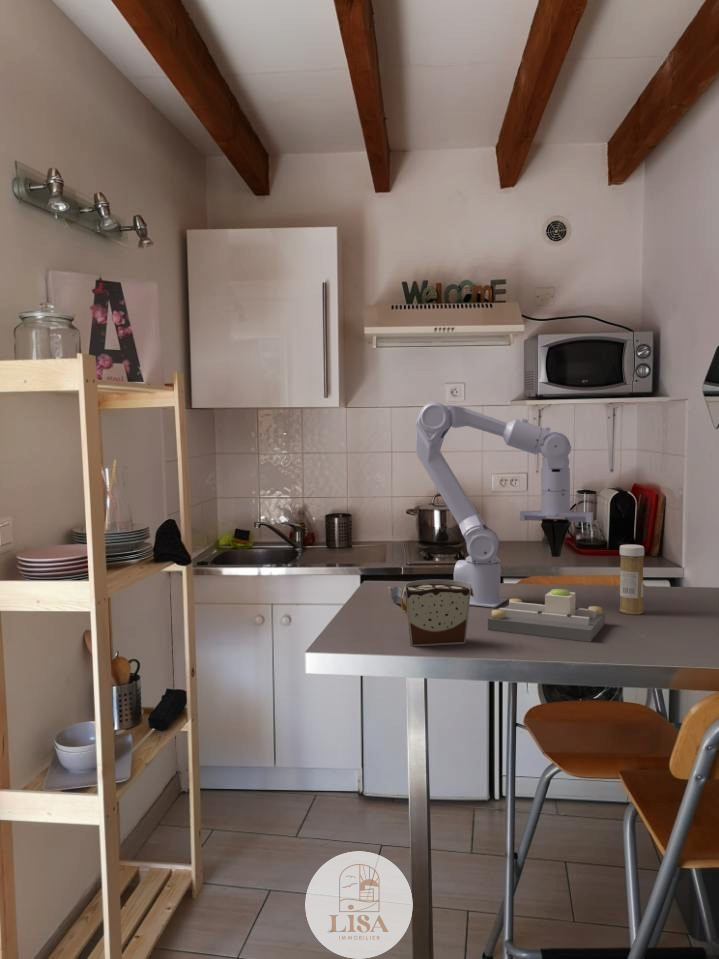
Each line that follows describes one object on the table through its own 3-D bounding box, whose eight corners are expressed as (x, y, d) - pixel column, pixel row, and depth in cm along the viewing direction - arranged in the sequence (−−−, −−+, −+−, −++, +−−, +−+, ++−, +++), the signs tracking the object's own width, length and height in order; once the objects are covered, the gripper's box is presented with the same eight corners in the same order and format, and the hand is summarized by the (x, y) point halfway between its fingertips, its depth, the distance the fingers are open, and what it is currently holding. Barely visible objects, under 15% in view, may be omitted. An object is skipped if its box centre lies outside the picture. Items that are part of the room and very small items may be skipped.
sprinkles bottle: (648, 613, 142) (649, 545, 141) (634, 616, 139) (634, 547, 138) (628, 609, 145) (629, 543, 145) (614, 611, 143) (614, 545, 142)
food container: (462, 633, 127) (462, 577, 126) (473, 643, 121) (474, 584, 120) (394, 637, 125) (394, 580, 124) (402, 646, 118) (402, 587, 118)
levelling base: (487, 629, 129) (487, 611, 129) (510, 613, 142) (510, 596, 142) (590, 642, 121) (590, 622, 121) (604, 623, 133) (605, 605, 133)
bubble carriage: (544, 617, 129) (545, 591, 129) (551, 611, 133) (551, 587, 133) (569, 619, 127) (569, 594, 127) (575, 614, 131) (575, 589, 131)
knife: (385, 597, 158) (385, 575, 157) (391, 597, 158) (391, 574, 158) (413, 624, 133) (413, 598, 133) (421, 624, 134) (421, 597, 133)
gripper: (515, 491, 147) (516, 557, 148) (588, 492, 140) (588, 560, 141) (524, 489, 154) (525, 552, 154) (594, 490, 147) (595, 555, 147)
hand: (556, 556), depth 148 cm, fingers closed
